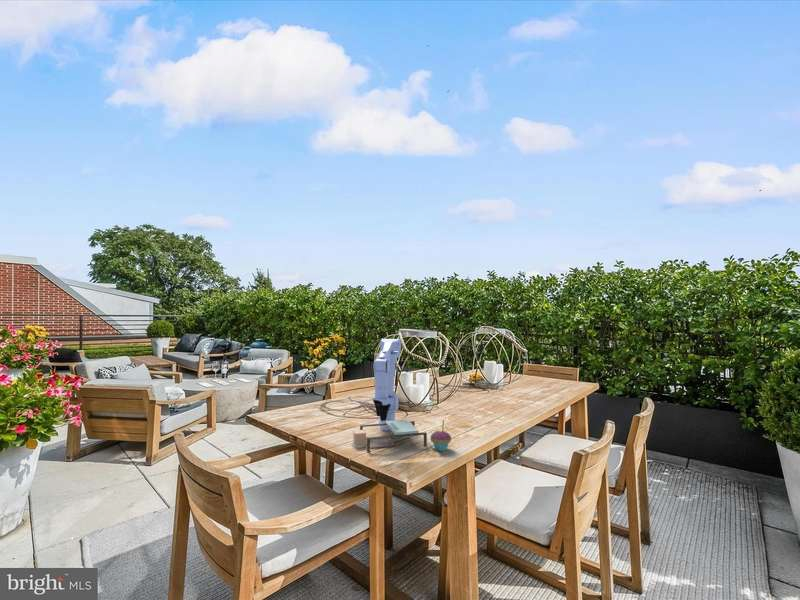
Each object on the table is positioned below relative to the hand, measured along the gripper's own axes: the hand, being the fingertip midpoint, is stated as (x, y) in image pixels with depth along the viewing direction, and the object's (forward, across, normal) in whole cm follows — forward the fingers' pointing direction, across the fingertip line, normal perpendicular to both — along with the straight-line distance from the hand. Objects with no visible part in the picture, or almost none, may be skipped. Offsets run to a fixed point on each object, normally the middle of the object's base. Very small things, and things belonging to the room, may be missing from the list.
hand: (381, 418), depth 169 cm
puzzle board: (+10, +5, +1) cm, 11 cm away
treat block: (+9, +5, -10) cm, 14 cm away
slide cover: (+3, +5, +8) cm, 10 cm away
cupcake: (+10, +16, +22) cm, 29 cm away
